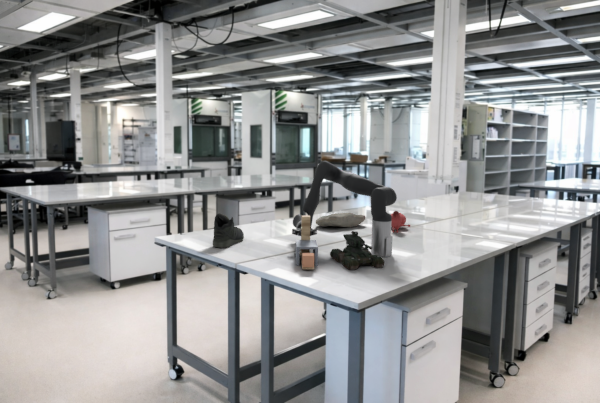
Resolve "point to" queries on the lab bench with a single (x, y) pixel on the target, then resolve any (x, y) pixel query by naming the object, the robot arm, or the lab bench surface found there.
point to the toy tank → (356, 253)
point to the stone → (340, 220)
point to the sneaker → (225, 232)
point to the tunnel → (307, 245)
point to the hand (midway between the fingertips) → (305, 235)
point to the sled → (305, 235)
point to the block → (307, 259)
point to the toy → (398, 220)
